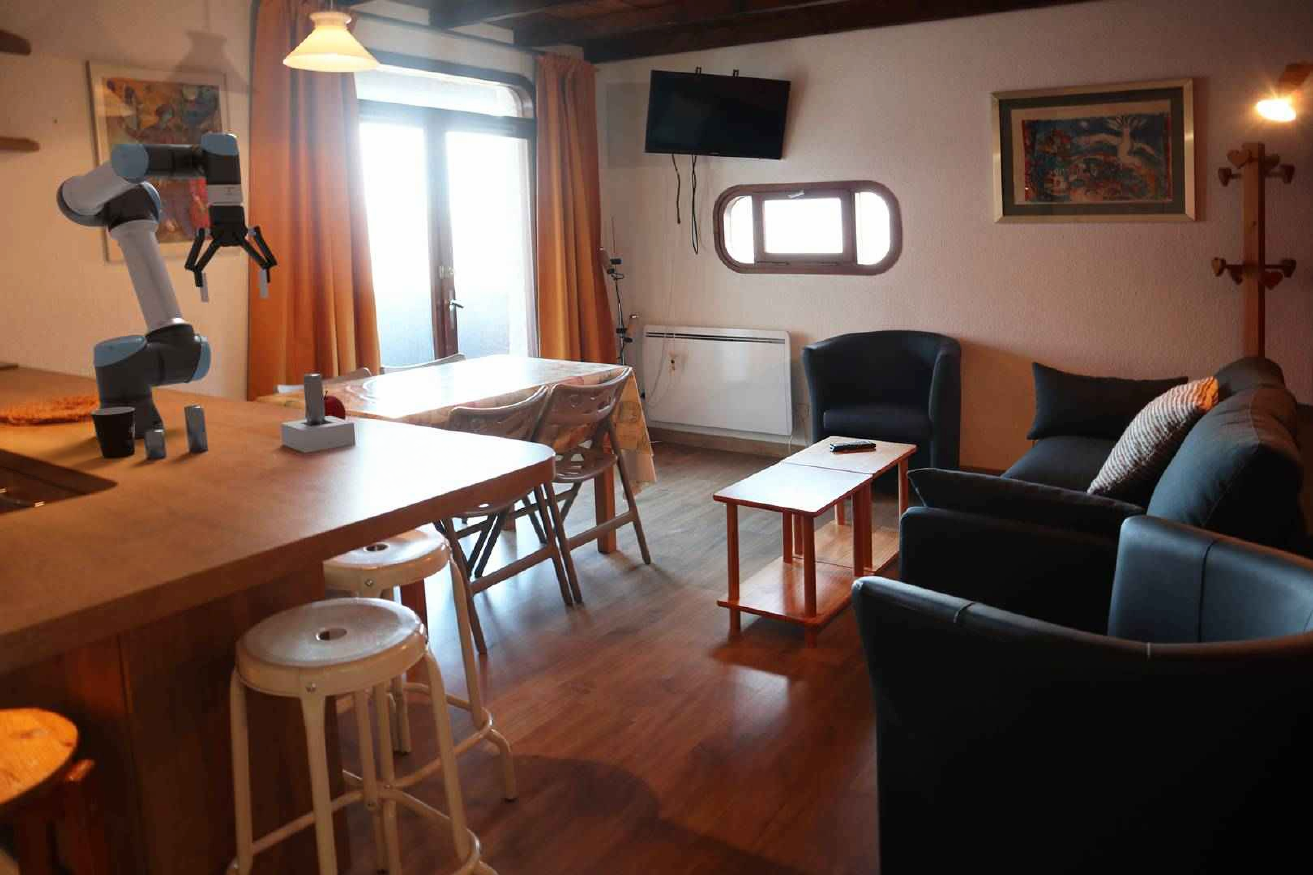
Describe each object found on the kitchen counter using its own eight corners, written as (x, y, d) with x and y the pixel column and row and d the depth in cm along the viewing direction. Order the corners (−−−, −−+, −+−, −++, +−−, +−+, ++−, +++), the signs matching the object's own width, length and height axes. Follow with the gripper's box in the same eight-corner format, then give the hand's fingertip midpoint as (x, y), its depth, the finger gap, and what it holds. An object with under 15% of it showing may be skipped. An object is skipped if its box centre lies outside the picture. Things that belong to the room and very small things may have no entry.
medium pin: (186, 450, 241) (181, 407, 239) (204, 448, 244) (199, 404, 242) (192, 453, 239) (187, 409, 236) (211, 450, 241) (206, 406, 239)
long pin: (313, 447, 243) (307, 377, 239) (306, 444, 245) (299, 375, 242) (330, 444, 245) (324, 375, 242) (322, 441, 248) (316, 373, 245)
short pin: (144, 457, 236) (140, 431, 234) (163, 454, 238) (160, 428, 237) (150, 460, 233) (146, 433, 231) (169, 457, 235) (166, 430, 234)
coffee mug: (122, 460, 234) (117, 414, 232) (88, 459, 235) (82, 414, 233) (157, 448, 245) (151, 405, 243) (123, 447, 247) (118, 404, 244)
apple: (341, 425, 267) (337, 385, 264) (351, 431, 259) (348, 390, 257) (303, 430, 262) (299, 389, 260) (312, 436, 254) (308, 394, 252)
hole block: (282, 444, 246) (280, 423, 245) (332, 436, 254) (330, 415, 253) (305, 452, 237) (303, 430, 236) (355, 444, 245) (353, 422, 244)
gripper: (174, 205, 230) (185, 304, 235) (286, 203, 247) (294, 296, 251) (162, 205, 236) (173, 302, 240) (273, 204, 252) (281, 295, 257)
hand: (235, 300), depth 246 cm, fingers open, 13 cm apart
